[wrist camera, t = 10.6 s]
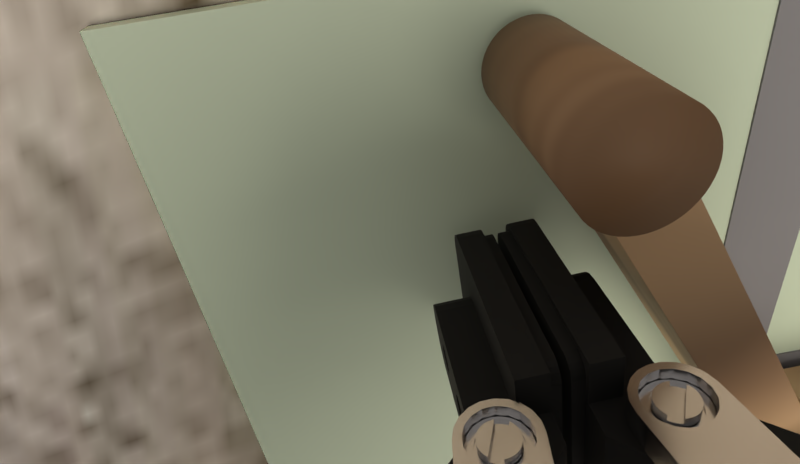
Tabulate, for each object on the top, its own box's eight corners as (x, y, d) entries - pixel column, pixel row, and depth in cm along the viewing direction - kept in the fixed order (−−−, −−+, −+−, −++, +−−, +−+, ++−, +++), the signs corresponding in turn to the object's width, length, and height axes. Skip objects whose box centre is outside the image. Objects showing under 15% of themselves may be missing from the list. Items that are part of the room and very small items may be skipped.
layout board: (310, 548, 19) (310, 562, 18) (88, 26, 9) (78, 32, 9) (1048, 404, 19) (1062, 415, 19) (1520, -212, 10) (1568, -215, 10)
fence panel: (452, 65, 10) (571, 234, 5) (561, -18, 9) (802, 88, 5) (703, 429, 16) (851, 643, 12) (774, 394, 16) (958, 603, 11)
